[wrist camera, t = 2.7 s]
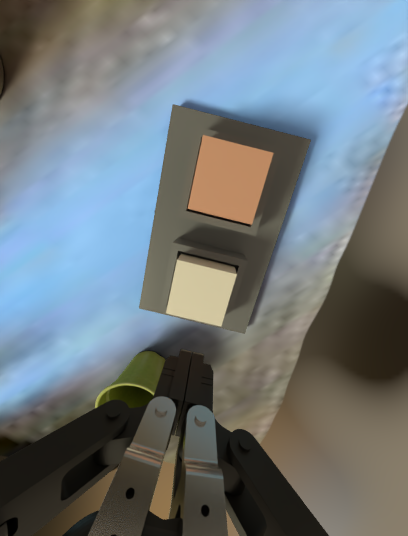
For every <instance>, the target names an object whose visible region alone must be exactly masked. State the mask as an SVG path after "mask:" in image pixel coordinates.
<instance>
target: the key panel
mask: <svg viewBox="0 0 408 536" xmlns="http://www.w3.org/2000/svg"><path fill="white" fill-rule="evenodd" d="M203 135H205V136H209V137H213V138H217V139H221V140H225V141H229V142H233V143H237V144H241V145H245V146H249V147H252V148H256V149H260V150H264V151H268V152H272V153H273V157H272V160H271V163H270V167H269V170H268V173H267V177H266V180H265V183H264V187H263V190H262V193H261V196H260V200H259V203H258V206H257V210H256V213H255V216H254V220H253V223H252V225H251V224H247V223H243V222H239V221H235V220H231V219H227V218H223V217H219V216H215V215H211V214H207V213H203V212H199V211H195V210H191V209H188V204H189V200H190V195H191V190H192V185H193V180H194V176H195V171H196V166H197V161H198V156H199V152H200V147H201V142H202V137H203ZM310 142H311V140H310V139H306V138H302V137H298V136H295V135H291V134H287V133H283V132H279V131H275V130H271V129H267V128H263V127H259V126H256V125H252V124H248V123H244V122H240V121H236V120H232V119H228V118H224V117H221V116H217V115H213V114H209V113H205V112H201V111H197V110H193V109H189V108H186V107H182V106H178V105H174V104H173V106H172V112H171V118H170V124H169V130H168V136H167V142H166V148H165V154H164V161H163V167H162V173H161V179H160V185H159V191H158V197H157V203H156V209H155V215H154V221H153V227H152V233H151V239H150V245H149V251H148V257H147V263H146V269H145V275H144V282H143V288H142V294H141V300H140V306H139V308H140V309H144V310H148V311H153V312H157V313H161V314H165V315H169V316H173V317H178V318H182V319H186V320H190V321H194V322H198V323H202V324H207V325H211V326H215V327H219V328H223V329H227V330H231V331H236V332H240V333H244V334H245V332H246V329H247V326H248V323H249V320H250V317H251V314H252V311H253V308H254V305H255V302H256V299H257V296H258V294H259V291H260V288H261V285H262V282H263V279H264V276H265V273H266V270H267V267H268V264H269V261H270V258H271V256H272V253H273V250H274V247H275V244H276V241H277V238H278V235H279V232H280V229H281V226H282V223H283V220H284V218H285V215H286V212H287V209H288V206H289V203H290V200H291V197H292V194H293V191H294V188H295V185H296V182H297V180H298V177H299V174H300V171H301V168H302V165H303V162H304V159H305V156H306V153H307V150H308V147H309V144H310ZM181 254H185V255H189V256H193V257H197V258H202V259H206V260H210V261H214V262H218V263H222V264H226V265H230V266H234V267H235V270H236V273H237V276H236V279H235V283H234V286H233V289H232V292H231V296H230V299H229V302H228V306H227V309H226V312H225V316H224V319H223V322H222V326H221V327H220V326H216V325H212V324H208V323H204V322H200V321H195V320H191V319H187V318H183V317H179V316H175V315H171V314H166V310H167V305H168V301H169V296H170V291H171V286H172V281H173V277H174V272H175V267H176V262H177V259H178V258H179V256H180V255H181Z"/></svg>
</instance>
